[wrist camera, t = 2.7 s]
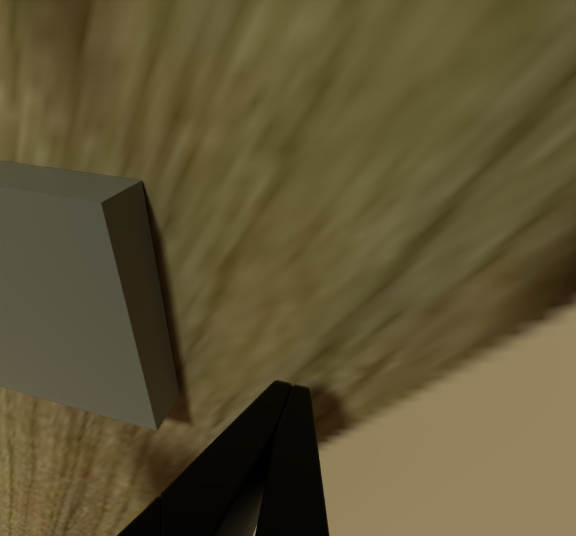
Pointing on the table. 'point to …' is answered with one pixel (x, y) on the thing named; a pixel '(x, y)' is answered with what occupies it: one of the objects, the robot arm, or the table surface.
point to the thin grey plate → (82, 295)
